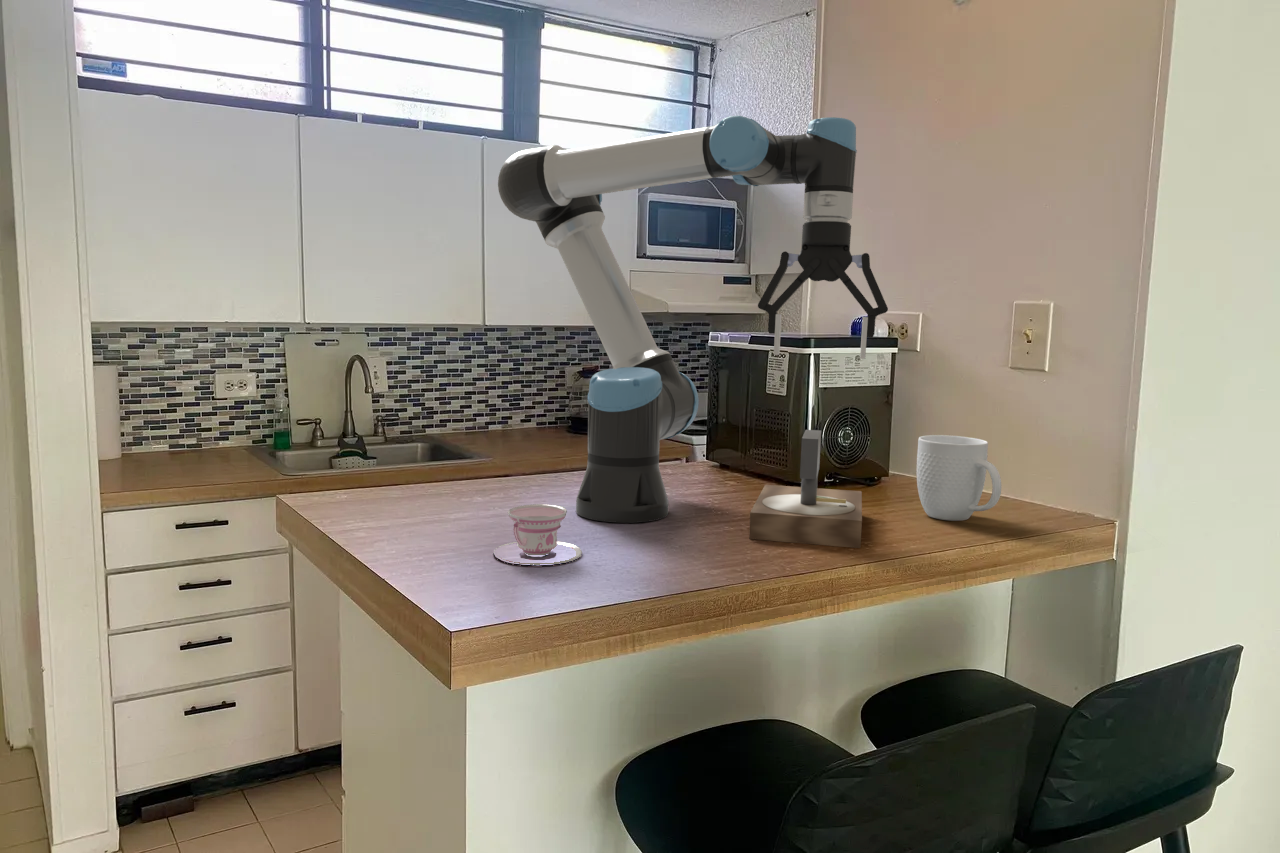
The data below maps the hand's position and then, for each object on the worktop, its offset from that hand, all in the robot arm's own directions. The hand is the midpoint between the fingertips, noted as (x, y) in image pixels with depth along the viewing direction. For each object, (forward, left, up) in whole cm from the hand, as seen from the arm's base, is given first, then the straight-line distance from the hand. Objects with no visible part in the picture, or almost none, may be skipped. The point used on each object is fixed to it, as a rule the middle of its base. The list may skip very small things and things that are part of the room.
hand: (819, 356), depth 146 cm
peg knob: (+2, -10, -22) cm, 24 cm away
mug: (+23, +7, -27) cm, 36 cm away
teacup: (-35, -36, -27) cm, 56 cm away
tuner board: (0, -7, -26) cm, 27 cm away
